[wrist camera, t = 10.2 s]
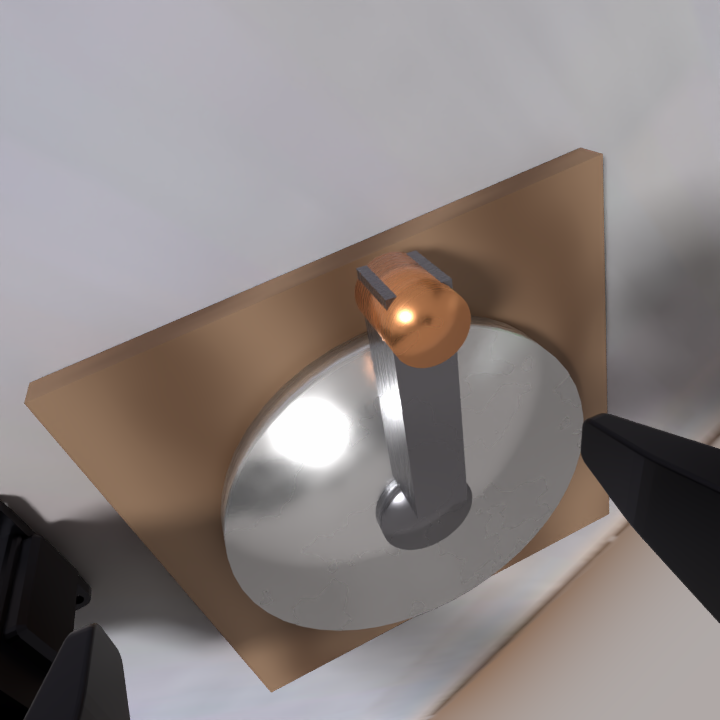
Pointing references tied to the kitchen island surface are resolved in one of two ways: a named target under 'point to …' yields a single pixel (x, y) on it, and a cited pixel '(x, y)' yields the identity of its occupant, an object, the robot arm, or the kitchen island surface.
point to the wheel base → (300, 348)
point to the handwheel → (399, 459)
